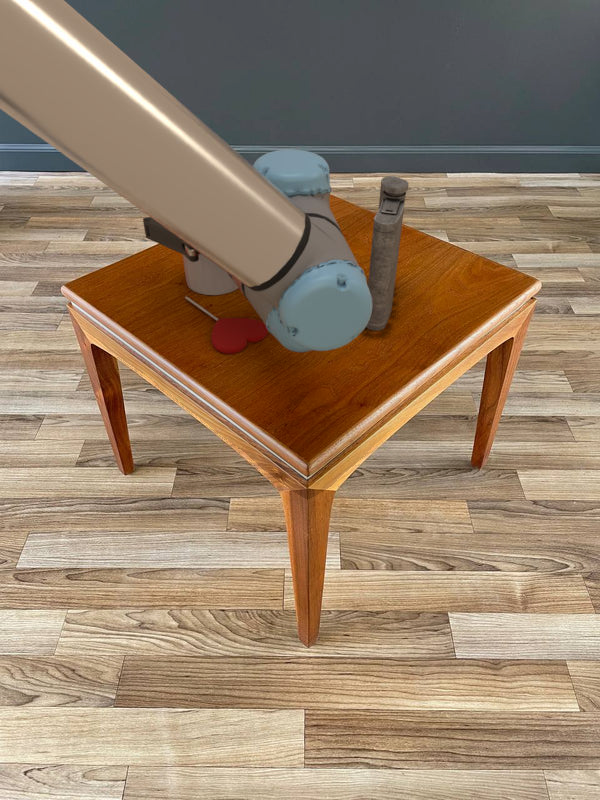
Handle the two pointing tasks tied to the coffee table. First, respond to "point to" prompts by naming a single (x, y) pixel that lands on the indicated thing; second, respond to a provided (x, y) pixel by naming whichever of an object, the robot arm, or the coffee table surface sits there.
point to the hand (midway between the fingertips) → (200, 191)
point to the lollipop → (234, 332)
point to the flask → (385, 249)
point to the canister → (207, 277)
